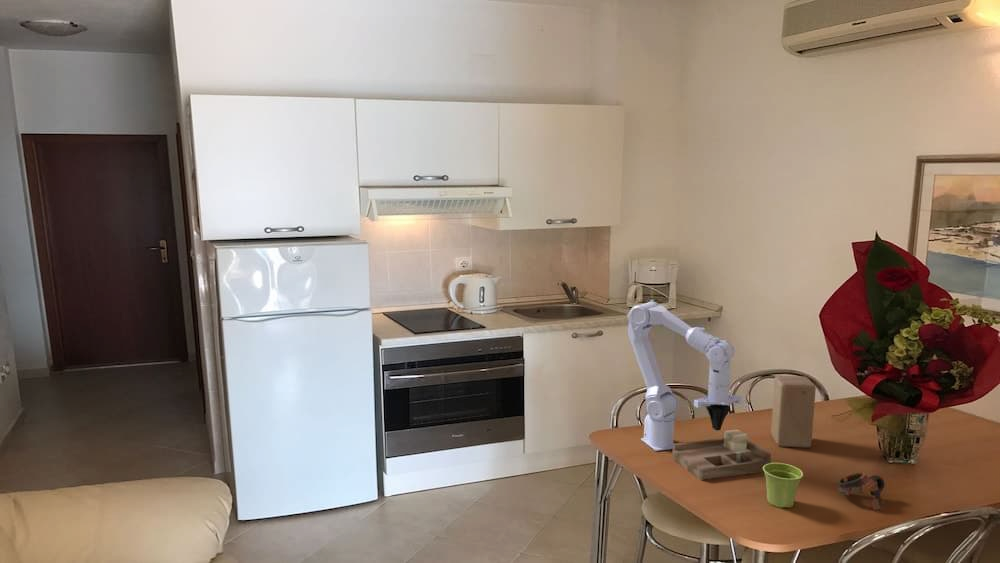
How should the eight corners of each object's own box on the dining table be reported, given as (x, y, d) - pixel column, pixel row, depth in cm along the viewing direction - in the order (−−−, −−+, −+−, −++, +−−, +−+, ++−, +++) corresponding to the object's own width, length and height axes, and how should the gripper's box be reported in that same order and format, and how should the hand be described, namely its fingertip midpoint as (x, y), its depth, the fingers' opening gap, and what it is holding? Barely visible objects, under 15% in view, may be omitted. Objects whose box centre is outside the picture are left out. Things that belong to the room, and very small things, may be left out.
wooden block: (812, 449, 209) (816, 385, 206) (777, 447, 211) (781, 383, 208) (803, 436, 219) (807, 375, 216) (769, 435, 220) (773, 374, 217)
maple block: (723, 445, 204) (724, 431, 203) (736, 443, 205) (737, 429, 205) (733, 451, 200) (734, 436, 199) (746, 449, 201) (747, 434, 200)
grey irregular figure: (869, 516, 169) (853, 484, 171) (841, 516, 178) (825, 485, 179) (901, 495, 174) (885, 464, 175) (873, 496, 182) (857, 466, 184)
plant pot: (806, 502, 175) (808, 469, 174) (792, 515, 168) (795, 482, 167) (769, 491, 182) (771, 459, 180) (755, 503, 175) (757, 471, 173)
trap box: (672, 458, 202) (672, 442, 201) (737, 450, 208) (738, 434, 207) (701, 480, 188) (702, 462, 187) (769, 470, 194) (771, 453, 193)
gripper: (704, 389, 192) (702, 436, 194) (749, 385, 196) (746, 431, 198) (690, 382, 198) (688, 427, 200) (734, 378, 202) (731, 422, 205)
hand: (716, 429), depth 200 cm, fingers closed
